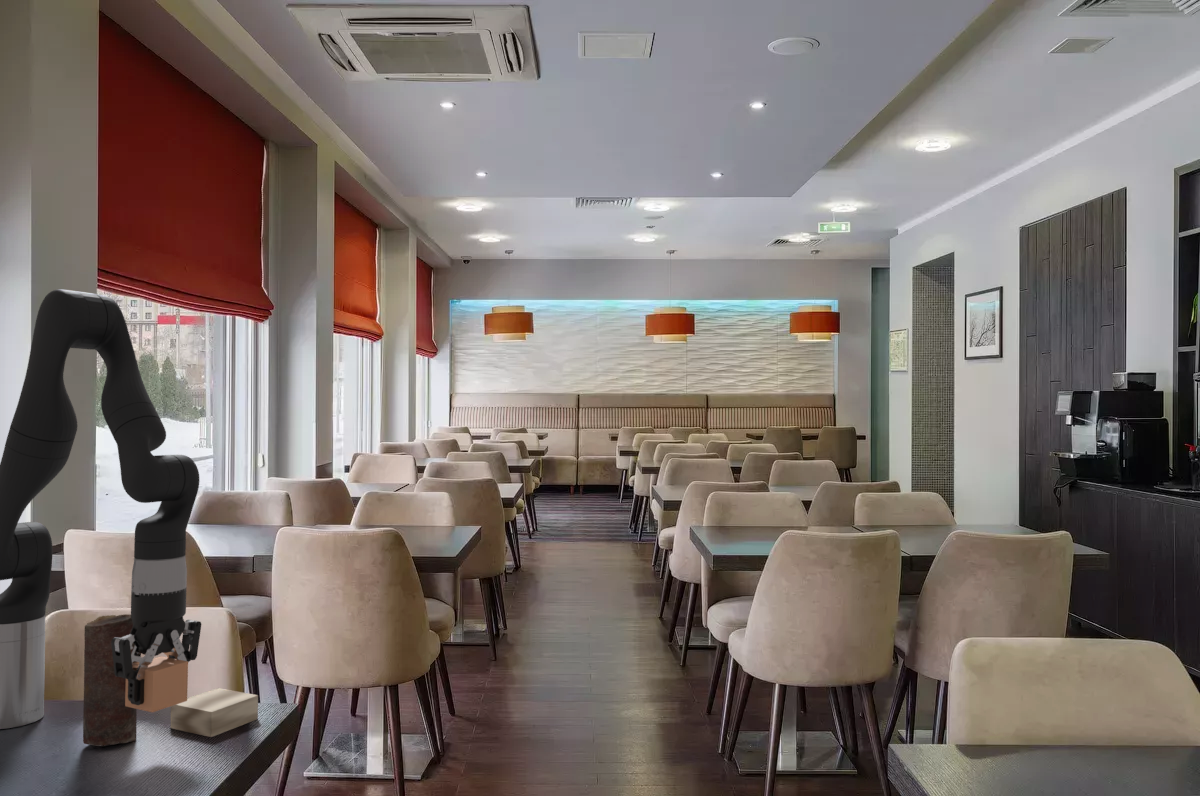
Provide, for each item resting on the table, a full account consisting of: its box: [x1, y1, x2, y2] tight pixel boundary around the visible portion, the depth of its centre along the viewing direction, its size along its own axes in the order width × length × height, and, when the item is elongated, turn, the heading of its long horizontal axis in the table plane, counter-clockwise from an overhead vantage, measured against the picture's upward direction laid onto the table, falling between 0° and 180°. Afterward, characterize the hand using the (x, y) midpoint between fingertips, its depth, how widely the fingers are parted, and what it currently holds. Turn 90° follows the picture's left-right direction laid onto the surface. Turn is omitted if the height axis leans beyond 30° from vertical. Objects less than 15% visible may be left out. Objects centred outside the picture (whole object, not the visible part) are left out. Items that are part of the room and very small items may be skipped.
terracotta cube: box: [125, 655, 189, 713], centre depth 133 cm, size 6×6×6 cm
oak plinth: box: [170, 687, 259, 738], centre depth 147 cm, size 10×10×4 cm
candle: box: [82, 613, 138, 747], centre depth 138 cm, size 8×7×20 cm
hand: (156, 697), depth 133 cm, fingers closed on terracotta cube, 6 cm apart
